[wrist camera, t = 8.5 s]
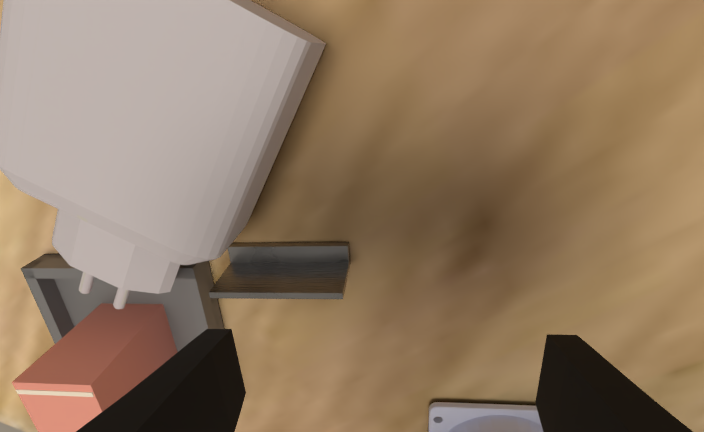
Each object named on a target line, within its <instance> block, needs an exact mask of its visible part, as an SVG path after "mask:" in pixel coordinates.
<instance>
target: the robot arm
mask: <svg viewBox="0 0 704 432" xmlns="http://www.w3.org/2000/svg"><path fill="white" fill-rule="evenodd" d="M245 394H246V392H245V387H244V383H243V378H242V374H241V370H240V365H239V361H238V356H237V352H236V347H235V343H234V339H233V334H232V330H231V329H206V330H205V331H204V332H202V333H201V334H200V335H198V336H197V337H196V338H195V339H193V340H192V341H191V342H190V343H188V344H187V345H186V346H185V347H183V348H182V349H181V350H180V351H179V352H177V353H176V354H175V355H174V356H172V357H171V358H170V359H169V360H168V361H166V362H165V363H164V364H163V365H161V366H160V367H159V368H158V369H157V370H155V371H154V372H153V373H152V374H150V375H149V376H148V377H147V378H145V379H144V380H143V381H142V382H140V383H139V384H138V385H137V386H135V387H134V388H133V389H132V390H130V391H129V392H128V393H127V394H125V395H124V396H123V397H121V398H120V399H119V400H117V401H116V402H115V403H113V404H112V405H111V406H109V407H108V408H107V409H105V410H104V411H103V412H101V413H100V414H99V415H97V416H96V417H95V418H93V419H92V420H91V421H89V422H88V423H87V424H85V425H84V426H83V427H81V428H80V429H79V430H77V431H76V432H234V431H235V428H236V425H237V421H238V418H239V415H240V411H241V408H242V404H243V401H244V397H245ZM428 432H692V431H691V430H690V429H689V428H687V427H686V426H685V425H684V424H682V423H681V422H680V421H679V420H677V419H676V418H675V417H674V416H672V415H671V414H670V413H669V412H668V411H666V410H665V409H664V408H663V407H661V406H660V405H659V404H658V403H657V402H655V401H654V400H653V399H652V398H651V397H649V396H648V395H647V394H646V393H645V392H643V391H642V390H641V389H640V388H639V387H637V386H636V385H635V384H634V383H633V382H632V381H630V380H629V379H628V378H627V377H626V376H624V375H623V374H622V373H621V372H620V371H619V370H617V369H616V368H615V367H614V366H613V365H612V364H610V363H609V362H608V361H607V360H606V359H605V358H603V357H602V356H601V355H600V354H599V353H598V352H596V351H595V350H594V349H593V348H592V347H591V346H589V345H588V344H587V343H586V342H585V341H583V340H582V339H581V338H580V337H578V336H577V335H547V338H546V344H545V350H544V356H543V362H542V368H541V373H540V379H539V385H538V391H537V397H536V406H532V405H505V404H478V403H451V402H434V403H432V404H431V405H430V406H429V423H428Z"/></svg>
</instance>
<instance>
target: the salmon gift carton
mask: <svg viewBox="0 0 704 432" xmlns="http://www.w3.org/2000/svg"><path fill="white" fill-rule="evenodd" d="M176 353H177V349H176V346H175V342H174V339H173V336H172V332H171V329H170V326H169V322H168V319H167V316H166V312H165V309H164V306H163V304H125V307H124V308H123V309H116V308H115V307H114V306H113V304H106V303H101V304H100V305H99V306H98V307H97V308H95V309H94V310H93V311H92V312H91V313H90V314H89V315H88V316H86V317H85V318H84V319H83V320H82V321H81V322H80V323H78V324H77V325H76V326H75V327H74V328H73V329H72V330H71V331H69V332H68V333H67V334H66V335H65V336H64V337H63V338H61V339H60V340H59V341H58V342H57V343H56V344H55V345H54V346H52V347H51V348H50V349H49V350H48V351H47V352H46V353H45V354H43V355H42V356H41V357H40V358H39V359H38V360H37V361H35V362H34V363H33V364H32V365H31V366H30V367H29V368H28V369H26V370H25V371H24V372H23V373H22V374H21V375H20V376H18V377H17V378H16V379H15V380H14V381H13V382H12V384H13V385H14V387H15V389H16V391H17V393H18V395H19V397H20V399H21V400H22V402H23V404H24V406H25V408H26V410H27V412H28V414H29V415H30V417H31V419H32V421H33V423H34V425H35V427H36V429H37V430H38V432H76V431H77V430H79V429H80V428H81V427H83V426H84V425H85V424H87V423H88V422H89V421H91V420H92V419H93V418H95V417H96V416H97V415H99V414H100V413H101V412H103V411H104V410H105V409H107V408H108V407H109V406H111V405H112V404H113V403H115V402H116V401H117V400H119V399H120V398H121V397H123V396H124V395H125V394H127V393H128V392H129V391H130V390H132V389H133V388H134V387H135V386H137V385H138V384H139V383H140V382H142V381H143V380H144V379H145V378H147V377H148V376H149V375H150V374H152V373H153V372H154V371H155V370H157V369H158V368H159V367H160V366H161V365H163V364H164V363H165V362H166V361H168V360H169V359H170V358H171V357H172V356H174V355H175V354H176Z"/></svg>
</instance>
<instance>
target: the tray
mask: <svg viewBox="0 0 704 432" xmlns="http://www.w3.org/2000/svg"><path fill="white" fill-rule="evenodd" d="M21 270H22V272H23V274H24V277H25V279H26V281H27V283H28V285H29V288H30V290H31V292H32V294H33V296H34V299H35V301H36V303H37V305H38V307H39V310H40V312H41V314H42V316H43V318H44V321H45V323H46V325H47V327H48V329H49V332H50V334H51V336H52V338H53V341H54V343H55V344H56V343H57V342H58V341H59V340H60V339H61V338H63V337H64V336H65V335H66V334H67V333H68V332H69V331H71V330H72V329H73V328H74V327H75V326H76V325H77V324H78V323H80V322H81V321H82V320H83V319H84V318H85V317H86V316H88V315H89V314H90V313H91V312H92V311H93V310H94V309H95V308H97V307H98V306H99V305H100V304H101V303H106V304H113V303H114V299H115V296H116V293H117V290H118V287H115V286H113V285H111V284H109V283H107V282H105V281H102V280H100V279H98V278H96V277H95V278H94V281H93V285H92V289H91V292H90V293H88V294H82V293H81V292H80V291H79V286H80V282H81V278H82V274H83V271H80V270H78V269H76V268H74V267H72V266H70V265H69V264H68V263H67V262H66V261H65V259H64V258H63V257H62V256H61V255H60V254H44V255H42V256H41V257H39V258H37V259H36V260H34V261H32V262H31V263H29V264H27V265H26V266H24V267H22V268H21ZM213 286H214V283H213V279H212V274H211V270H210V266H209V262H208V261H205V262H200V263H196V264H191V265H180V267H179V269H178V272H177V275H176V277H175V280H174V283H173V285H172V288H171V291H170V292H167V293H160V294H156V293H147V292H139V291H131V290H130V292H129V295H128V298H127V301H126V304H163V306H164V309H165V312H166V316H167V319H168V322H169V326H170V329H171V332H172V336H173V339H174V342H175V346H176V349H177V352H179V351H180V350H181V349H182V348H183V347H185V346H186V345H187V344H188V343H190V342H191V341H192V340H193V339H195V338H196V337H197V336H198V335H200V334H201V333H202V332H204V331H205V330H206V329H224V325H223V321H222V317H221V313H220V308H219V304H218V300H217V298H210V296H209V291H210V290H211V289H212V287H213Z"/></svg>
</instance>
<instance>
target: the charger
mask: <svg viewBox="0 0 704 432" xmlns="http://www.w3.org/2000/svg"><path fill="white" fill-rule="evenodd" d="M325 45H326V43H325V42H323V41H322V40H320V39H318V38H317V37H315V36H313V35H312V34H310V33H308V32H306V31H305V30H303V29H301V28H299V27H298V26H296V25H294V24H292V23H290V22H289V21H287V20H285V19H283V18H281V17H280V16H278V15H276V14H274V13H272V12H271V11H269V10H267V9H265V8H263V7H262V6H260V5H258V4H256V3H254V2H252V1H251V0H4V2H3V12H2V21H1V30H0V170H1V171H2V172H3V173H4V174H5V176H6V177H7V178H8V179H9V180H10V181H11V183H12V184H13V185H14V186H15V187H16V188H17V189H19V190H20V191H22V192H24V193H26V194H28V195H30V196H32V197H34V198H36V199H39V200H41V201H43V202H45V203H47V204H49V205H51V206H53V207H56V208H58V212H57V217H56V222H55V227H54V231H53V236H52V245H53V246H54V248H55V249H56V250H57V251H58V252H59V254H60V255H61V256H62V257H63V258H64V259H65V261H66V262H67V263H68V264H69V265H70V266H72V267H74V268H76V269H78V270H80V271H83V274H82V278H81V282H80V286H79V291H80V292H81V293H82V294H88V293H90V292H91V289H92V285H93V281H94V278H95V277H96V278H98V279H100V280H102V281H105V282H107V283H109V284H111V285H113V286H115V287H118V290H117V293H116V296H115V299H114V303H113V306H114V307H115V308H116V309H123V308H124V307H125V304H126V301H127V298H128V295H129V292H130V290H131V291H139V292H147V293H156V294H160V293H167V292H170V291H171V288H172V285H173V283H174V280H175V277H176V275H177V272H178V269H179V267H180V265H191V264H196V263H200V262H205V261H209V260H214V259H217V258H219V257H221V255H222V254H223V253H224V252H225V251H226V249H227V248H228V247H229V246H230V245H231V243H232V242H233V241H234V240H235V239H236V237H237V236H238V235H239V234H240V233H241V231H242V230H243V229H244V228H245V226H246V225H247V223H248V221H249V218H250V216H251V214H252V211H253V209H254V207H255V205H256V202H257V200H258V198H259V195H260V193H261V191H262V189H263V186H264V184H265V182H266V180H267V177H268V175H269V173H270V170H271V168H272V166H273V164H274V161H275V159H276V157H277V154H278V152H279V150H280V148H281V145H282V143H283V141H284V138H285V136H286V134H287V132H288V129H289V127H290V125H291V123H292V120H293V118H294V116H295V113H296V111H297V109H298V107H299V104H300V102H301V100H302V97H303V95H304V93H305V91H306V88H307V86H308V84H309V81H310V79H311V77H312V75H313V72H314V70H315V68H316V66H317V63H318V61H319V59H320V56H321V54H322V52H323V50H324V47H325Z"/></svg>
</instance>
